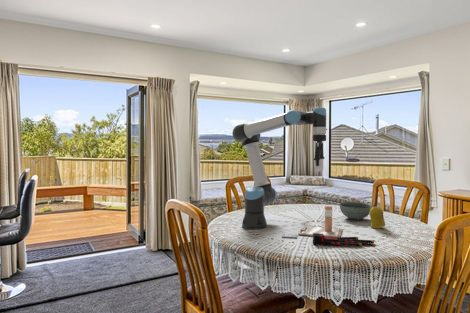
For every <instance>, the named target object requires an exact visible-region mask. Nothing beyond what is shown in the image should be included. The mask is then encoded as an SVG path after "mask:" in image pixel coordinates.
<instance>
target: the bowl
mask: <svg viewBox="0 0 470 313" xmlns="http://www.w3.org/2000/svg"><path fill="white" fill-rule="evenodd" d="M338 206H339V209H340V211H341V214H343V215H344V216H345V217H346V218H347V219H348V220H350V221H357V222H359V221H362V220H363V219H364V218H366V217H369V216H370V215H369V213H370V209H371V208H372V207H373V205H371V204H370V203H366V202H361V201H342V202H339V203H338Z"/></svg>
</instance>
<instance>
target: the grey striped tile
mask: <svg viewBox="0 0 470 313" xmlns="http://www.w3.org/2000/svg"><path fill="white" fill-rule="evenodd" d="M281 239H298V234H297V233H296V234H295V233H282V234H281Z"/></svg>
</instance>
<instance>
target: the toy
mask: <svg viewBox="0 0 470 313" xmlns="http://www.w3.org/2000/svg"><path fill="white" fill-rule="evenodd" d="M312 244H313V246H325V245H334V246H335V245H336V246H343V247H344V246H346V247H360V248H362V247H376V243H375V240H374V239H373V240H371V239H359V237H358V236H341V237H329V236H324V235H323V234H319V233H313V237H312Z"/></svg>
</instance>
